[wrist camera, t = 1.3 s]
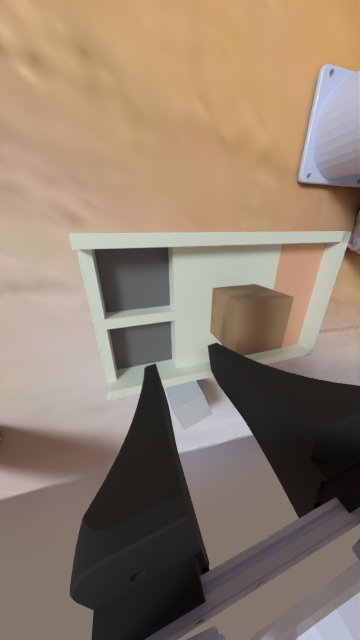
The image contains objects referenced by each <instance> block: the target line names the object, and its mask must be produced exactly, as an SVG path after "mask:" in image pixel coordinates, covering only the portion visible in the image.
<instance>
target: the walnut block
mask: <svg viewBox="0 0 360 640" xmlns="http://www.w3.org/2000/svg"><path fill="white" fill-rule="evenodd" d="M293 299H294V297H292V296H289V295H286V294H284V293H281V292H278V291H275V290H272V289H269V288H266V287H263V286H260V285H257V284H249V285H239V286H228V287H217V288H213V292H212V309H211V325H210V333H211V334H212V335H213V336H214V337H215V338H216V339H217V340H218V341H219V342H220V343H221V344H222V345H223V346H225V347H227V348H229V349H231V350H233V351H235V352H237V353H239V354H241V355H243V356H245V355H250V354H255V353H260V352H265V351H270V350H274V349H279V348H282V344H283V339H284V335H285V331H286V327H287V323H288V319H289V315H290V311H291V307H292V303H293Z"/></svg>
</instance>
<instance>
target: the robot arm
mask: <svg viewBox="0 0 360 640" xmlns="http://www.w3.org/2000/svg"><path fill="white" fill-rule="evenodd" d="M329 74H330V75H329ZM307 175H308V178H307ZM298 181H299V182H300V183H307V184H320V185H333V186H346V187H359V188H360V70H359V71H357V72H355V71H352V70H348V69H345V68H342V67H338V66H335V65H332V64H326V65H325V66H324V67H322V68H321V70H320V72H319V76H318V81H317V86H316V91H315V96H314V101H313V106H312V111H311V116H310V121H309V126H308V131H307V136H306V141H305V146H304V151H303V155H302V160H301V165H300V170H299V175H298ZM208 352H209V360H210V367H211V372H212V373H213V375H214V377H215V379H216V381H217V382H218V384H219V386H220V387H221V388H222V390H223V391H224V393H225V394H226V395H227V397H228V398H229V399H230V401H231V402H232V404H233V405H234V406H235V408H236V409H237V410H238V412H239V413H240V414H241V416H242V417H243V419H244V420H245V422H246V423H247V425H248V427H249V428H250V430H251V432H252V433H253V435H254V437H255V438H256V440H257V442H258V443H259V445H260V447H261V449H262V450H263V452H264V454H265V456H266V458H267V459H268V461H269V463H270V465H271V467H272V468H273V470H274V472H275V474H276V475H277V477H278V479H279V481H280V483H281V485H282V487H283V489H284V490H285V492H286V494H287V496H288V498H289V500H290V502H291V504H292V505H293V508H294V510H295V512H296V513H297V515H298V517H299V519H298V520H296V521H294V522H292V523H291V524H289V525H287V526H286V527H284V528H282V529H280V530H279V531H277V532H275V533H273V534H272V535H270V536H269V537H267V538H265V539H263V540H262V541H260V542H258V543H256V544H255V545H253V546H251V547H249V548H248V549H246V550H245V551H243V552H241V553H239V554H238V555H236V556H234V557H232V558H231V559H229V560H227V561H225V562H224V563H222V564H220V565H219V566H217V567H215V568H214V569H212V570H209V561H208V557H207V553H206V550H205V546H204V543H203V539H202V536H201V532H200V529H199V525H198V522H197V518H196V515H195V511H194V508H193V504H192V501H191V497H190V494H189V490H188V487H187V483H186V479H185V476H184V472H183V469H182V465H181V462H180V458H179V454H178V451H177V446H176V442H175V437H174V432H173V426H172V421H171V416H170V411H169V406H168V402H167V399H166V395H165V392H164V388H163V385H162V382H161V379H160V376H159V372H158V369H157V366H156V363H155V364H152V365H149V366H146V367H145V368H144V378H143V384H142V389H141V394H140V398H139V401H138V405H137V408H136V412H135V415H134V418H133V421H132V423H131V426H130V429H129V431H128V433H127V436H126V438H125V440H124V443H123V445H122V447H121V449H120V452H119V454H118V456H117V458H116V460H115V461H114V463H113V465H112V467H111V469H110V471H109V473H108V475H107V477H106V479H105V481H104V482H103V484H102V486H101V488H100V489H99V491H98V493H97V494H96V496H95V498H94V499H93V501H92V503H91V504H90V506H89V508H88V510H87V511H86V513H85V514H84V517H83V519H82V523H81V527H80V531H79V536H78V540H77V545H76V549H75V556H74V562H73V570H72V577H71V584H70V596H71V598H72V599H73V600H74V601H76V603H79V604H81V605H83V606H85V607H88V608H90V609H92V610H94V614H93V629H92V640H177V639H179V638H181V637H182V636H184V635H185V634H187V633H188V632H190V631H192V630H193V629H195V628H196V627H198V626H199V625H201V624H203V623H204V622H206V621H207V620H209V619H210V618H212V617H214V616H215V615H217V614H218V613H220V612H221V611H223V610H225V609H226V608H228V607H229V606H231V605H232V604H234V603H236V602H237V601H239V600H240V599H242V598H244V597H245V596H247V595H248V594H250V593H251V592H253V591H255V590H256V589H258V588H259V587H261V586H262V585H264V584H266V583H267V582H268V581H270V580H272V579H274V578H275V577H277V576H278V575H280V574H281V573H283V572H285V571H286V570H288V569H289V568H291V567H292V566H294V565H296V564H297V563H299V562H300V561H302V560H303V559H305V558H307V557H308V556H310V555H311V554H313V553H314V552H316V551H318V550H319V549H321V548H322V547H324V546H325V545H327V544H329V543H330V542H332V541H333V540H335V539H337V538H338V537H340V536H341V535H343V534H344V533H346V532H348V531H349V530H351V529H352V528H354V527H355V526H357V525H358V524H360V386H356V385H349V384H342V383H335V382H329V381H324V380H318V379H313V378H309V377H304V376H300V375H296V374H293V373H289V372H285V371H282V370H279V369H276V368H273V367H270V366H267V365H264V364H262V363H259V362H257V361H254V360H252V359H250V358H247V357H245V356H243V355H241V354H239V353H237V352H235V351H233V350H231V349H229V348H227V347H225V346H223V345H221V344H219V343H217V342H216V343H214V344H211V345H208ZM352 549H353V552H354V553H355V555H356V556H357V557H358V559H359V560H360V539H359V540H358V542H357V543H356V544H355V545H354V546H353V547H352ZM187 640H226V638H225V636H224V635H223V634H219V633H218V629H217V628H216V627H214V626H213V627H211V628H209V629H207V630H205V631H203V632H201V633H199V634H197V635H195V636H193V637H191V638H189V639H187ZM248 640H360V561H358V562H357V563H355V564H354V565H352V566H351V567H349V568H348V569H346V570H345V571H343V572H342V573H340V574H339V575H338V576H336V577H334V578H333V579H331V580H330V581H329V582H327V583H326V584H324V585H323V586H321V587H320V588H319V589H317V590H316V591H314V592H313V593H311V594H310V595H309V596H307V597H306V598H304V599H303V600H301V601H300V602H299V603H297V604H296V605H294V606H293V607H292V608H290V609H289V610H288V611H286V612H285V613H283V614H282V615H281V616H279V617H278V618H276V619H275V620H274V621H272V622H271V623H270V624H268V625H267V626H266V627H264V628H263V629H262V630H260V631H259V632H257V633H256V634H255V635H253V636H252V637H251V638H249V639H248Z"/></svg>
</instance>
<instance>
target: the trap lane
mask: <svg viewBox="0 0 360 640" xmlns="http://www.w3.org/2000/svg"><path fill="white" fill-rule="evenodd" d="M351 232H352V231H308V232H191V233H75V234H68V235H69V239H70V243H71V248H72V250H77V253H78V258H79V262H80V267H81V271H82V275H83V280H84V284H85V289H86V293H87V298H88V302H89V306H90V311H91V315H92V320H93V324H94V329H95V333H96V337H97V342H98V346H99V351H100V355H101V360H102V364H103V368H104V373H105V377H106V382H107V384H106V396H107V400H112V399H117V398H121V397H125V396H130V395H134V394H139V393H141V389H142V384H143V378H144V368H145V367H146V366H149V365H152V364H155V363H156V366H157V369H158V372H159V376H160V379H161V382H162V385H163V388H165V387H169V386H174V385H178V384H183V383H187V382H191V381H196V380H200V379H204V378H209V377H213V376H214V375H213V373H212V372H211V367H210V360H209V352H208V345H211V344H214V343H216V342H217V343H219V344H221V343H220V342H219V341H218V340H217V339H216V338H215V337H214V336H213V335H212V334H211V333H210V325H211V309H212V292H213V288H217V287H228V286H239V285H249V284H257V285H260V286H263V287H266V288H269V289H272V290H275V291H278V292H281V293H284V294H286V295H289V296H292V297H294V299H293V303H292V307H291V311H290V315H289V319H288V323H287V327H286V331H285V335H284V339H283V344H282V348H279V349H274V350H270V351H265V352H260V353H255V354H250V355H245V357H247V358H250V359H252V360H254V361H257V362H259V363H262V364H264V365H266V364H270V363H275V362H279V361H284V360H288V359H292V358H297V357H301V356H306V355H310V354H311V353H312V350H313V347H314V344H315V341H316V338H317V335H318V332H319V329H320V326H321V323H322V320H323V317H324V314H325V311H326V308H327V305H328V302H329V299H330V296H331V293H332V290H333V287H334V284H335V281H336V278H337V275H338V272H339V269H340V266H341V263H342V260H343V257H344V254H345V251H346V248H347V245H348V242H349V239H350V236H351ZM221 345H222V344H221Z"/></svg>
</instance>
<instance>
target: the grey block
mask: <svg viewBox="0 0 360 640" xmlns="http://www.w3.org/2000/svg"><path fill="white" fill-rule="evenodd" d="M165 388H166V392H167V395H168V398H169V401H170V404H171V408H172V411H173V412H174V414H175V416H176V417H177V419H178V421H179V422H180V424H181V425H182V427H183V429H186V428H188V427H190V426H191V425H193V424H195V423H197V422H199V421H200V420H202V419H204V418H206V417H208V416H209V415H211V414H212V412H211V410H210V407H209V405H208V403H207V401H206V398H205V396H204V394H203V392H202V390H201V388H200V387H199V385H198V383H197V381H191V382H187V383H183V384H178V385H174V386H169V387H165Z"/></svg>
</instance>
